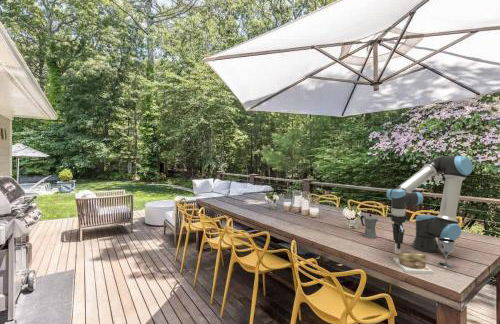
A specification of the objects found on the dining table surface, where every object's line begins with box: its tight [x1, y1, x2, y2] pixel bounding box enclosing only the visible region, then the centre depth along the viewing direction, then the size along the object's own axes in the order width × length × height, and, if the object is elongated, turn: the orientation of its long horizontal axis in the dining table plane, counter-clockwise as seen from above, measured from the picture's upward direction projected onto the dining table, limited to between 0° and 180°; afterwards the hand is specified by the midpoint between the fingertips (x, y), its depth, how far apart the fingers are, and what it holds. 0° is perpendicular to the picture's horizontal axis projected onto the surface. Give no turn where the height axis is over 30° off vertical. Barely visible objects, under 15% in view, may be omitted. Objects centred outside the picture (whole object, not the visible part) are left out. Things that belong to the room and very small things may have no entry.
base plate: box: [393, 257, 434, 275], centre depth 159 cm, size 14×18×2 cm
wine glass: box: [437, 238, 456, 269], centre depth 160 cm, size 8×8×15 cm
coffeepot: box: [359, 213, 379, 239], centre depth 216 cm, size 15×9×18 cm, turn 33°
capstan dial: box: [398, 251, 427, 268], centre depth 158 cm, size 14×13×6 cm
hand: (397, 253), depth 166 cm, fingers closed
